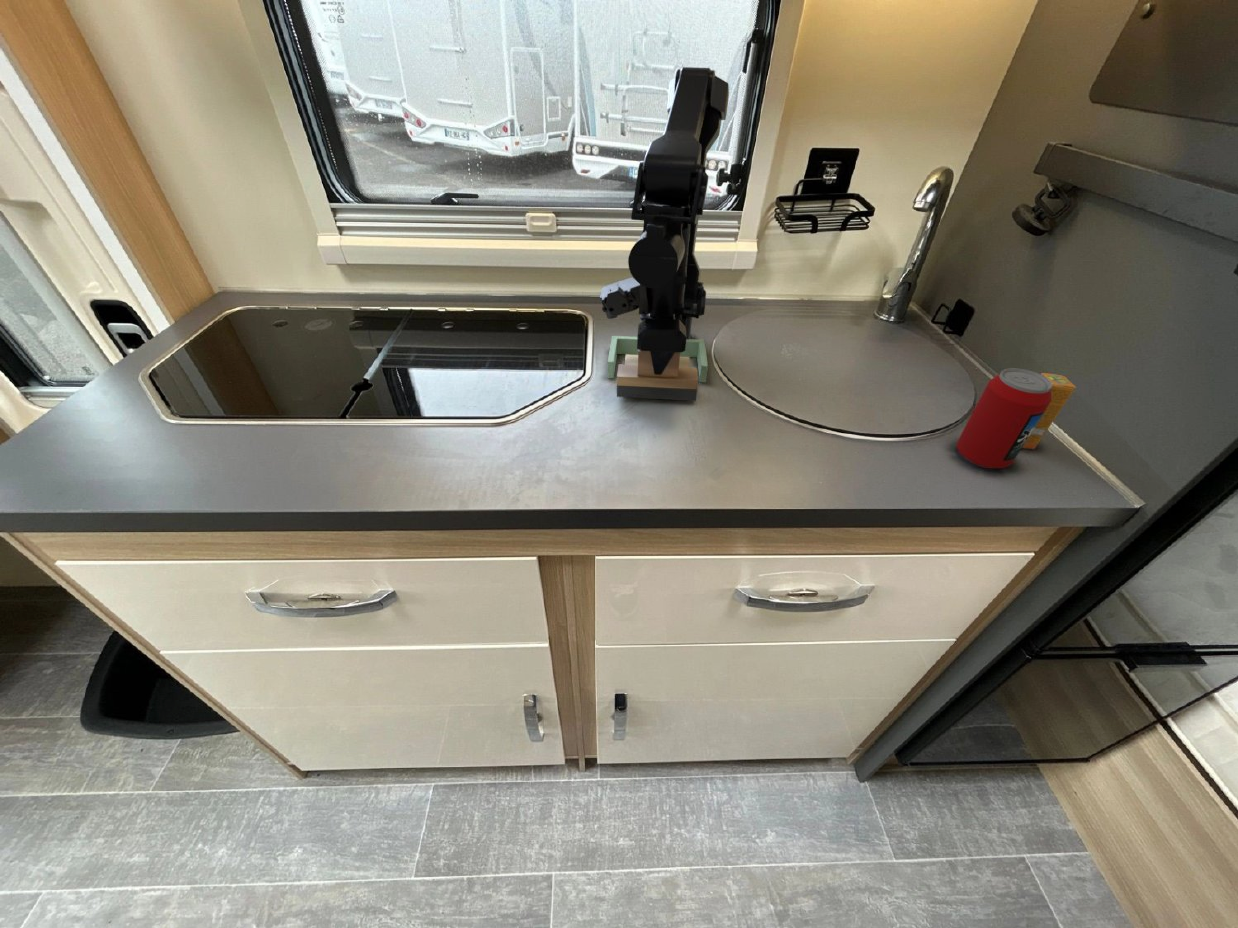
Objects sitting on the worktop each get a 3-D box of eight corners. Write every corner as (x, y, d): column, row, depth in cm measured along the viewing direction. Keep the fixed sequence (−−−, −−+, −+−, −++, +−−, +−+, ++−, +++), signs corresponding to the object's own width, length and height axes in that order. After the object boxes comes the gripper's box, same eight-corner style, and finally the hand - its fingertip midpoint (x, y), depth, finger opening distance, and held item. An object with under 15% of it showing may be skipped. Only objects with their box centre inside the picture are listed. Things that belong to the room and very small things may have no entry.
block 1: (625, 376, 86) (625, 354, 84) (649, 377, 86) (650, 355, 84) (623, 388, 83) (624, 366, 81) (648, 389, 83) (650, 367, 80)
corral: (612, 351, 93) (612, 335, 91) (702, 355, 92) (704, 339, 90) (607, 378, 86) (607, 361, 84) (705, 382, 85) (708, 366, 83)
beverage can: (1018, 476, 68) (1070, 396, 60) (961, 469, 69) (1005, 390, 61) (999, 445, 73) (1045, 368, 65) (947, 439, 74) (986, 362, 66)
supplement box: (1037, 450, 72) (1079, 387, 66) (1010, 447, 72) (1049, 384, 66) (1027, 436, 74) (1066, 374, 68) (1001, 433, 75) (1037, 371, 69)
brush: (618, 384, 83) (619, 339, 78) (694, 387, 82) (700, 343, 77) (616, 397, 79) (617, 351, 75) (695, 400, 79) (701, 355, 74)
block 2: (662, 377, 86) (664, 355, 83) (687, 379, 86) (689, 356, 83) (662, 390, 83) (664, 368, 80) (688, 391, 83) (690, 369, 80)
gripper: (609, 240, 76) (609, 339, 86) (597, 284, 62) (598, 398, 71) (686, 242, 76) (677, 342, 85) (692, 288, 61) (680, 402, 71)
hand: (657, 368), depth 78 cm, fingers closed on brush, 3 cm apart
